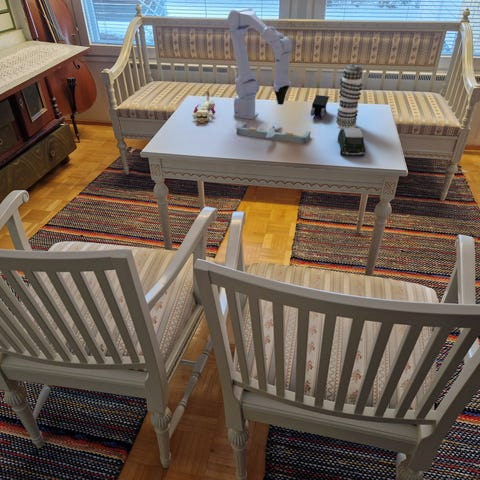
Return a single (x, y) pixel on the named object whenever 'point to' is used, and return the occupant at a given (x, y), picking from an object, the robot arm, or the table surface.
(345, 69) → the model tower building
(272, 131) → the propeller
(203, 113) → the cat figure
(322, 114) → the figurine character
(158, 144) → the table surface
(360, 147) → the miniature car
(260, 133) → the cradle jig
